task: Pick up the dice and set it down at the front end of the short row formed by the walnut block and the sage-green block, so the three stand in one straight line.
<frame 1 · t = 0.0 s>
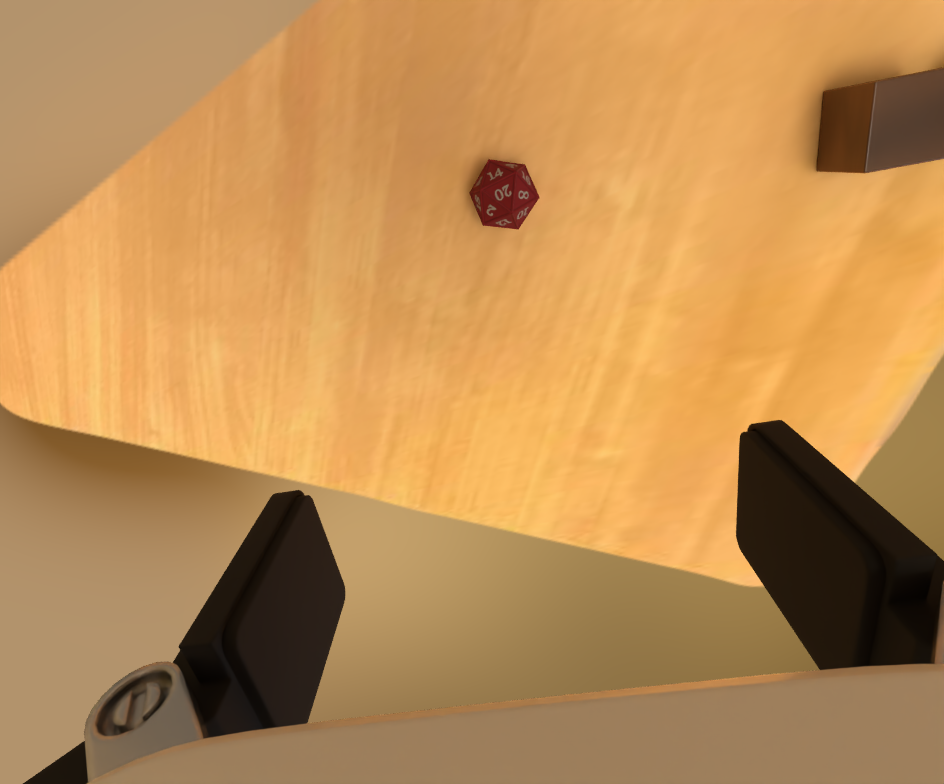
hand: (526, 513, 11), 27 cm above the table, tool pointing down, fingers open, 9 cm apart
walnut block: (857, 125, 32), on the table
dice: (502, 192, 34), on the table
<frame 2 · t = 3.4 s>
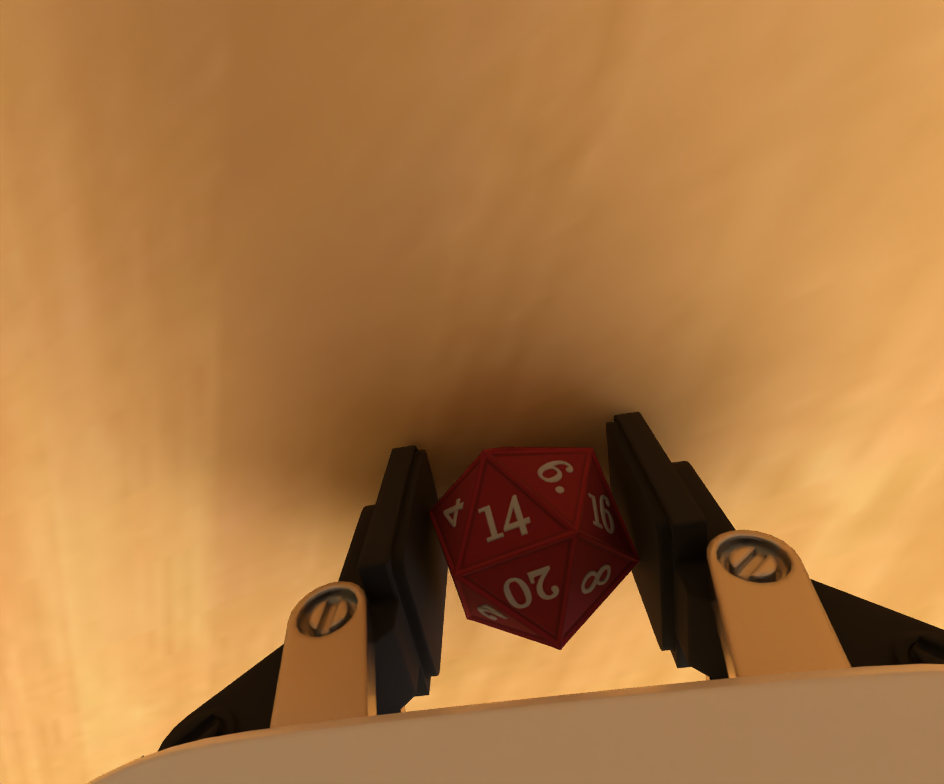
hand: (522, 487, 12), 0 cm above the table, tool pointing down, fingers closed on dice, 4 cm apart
dice: (521, 474, 13), on the table, touching gripper
when the fingers open (0 cm above the table, at t = 9.6 s): dice stays where it is, on the table.
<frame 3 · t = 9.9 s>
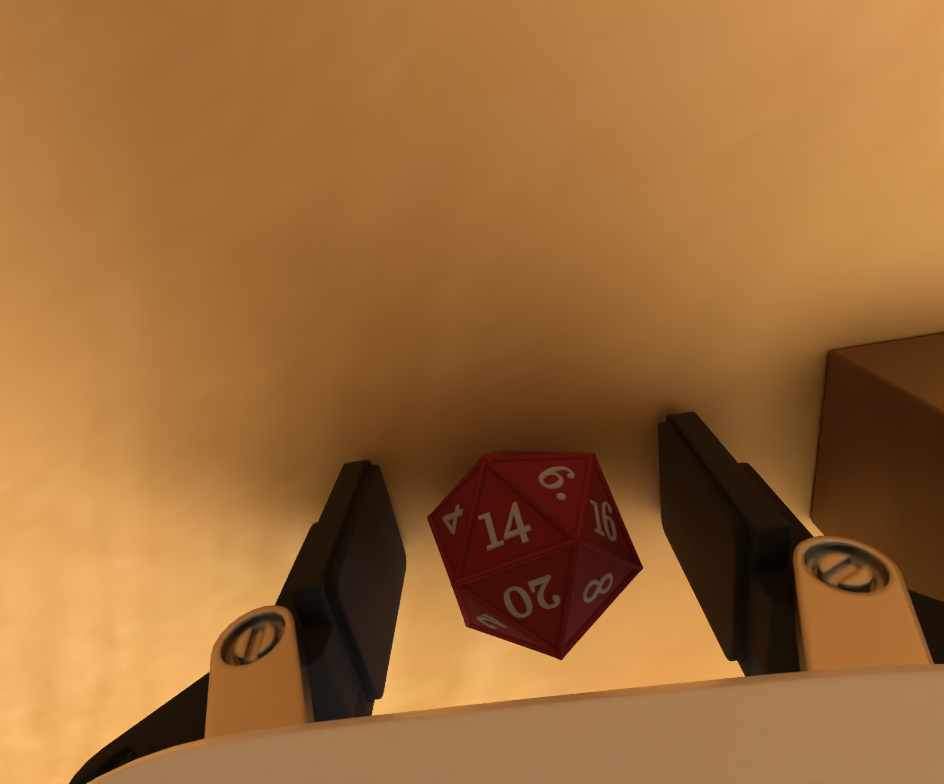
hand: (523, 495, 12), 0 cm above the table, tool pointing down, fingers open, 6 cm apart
walnut block: (922, 427, 12), on the table
dice: (521, 479, 12), on the table
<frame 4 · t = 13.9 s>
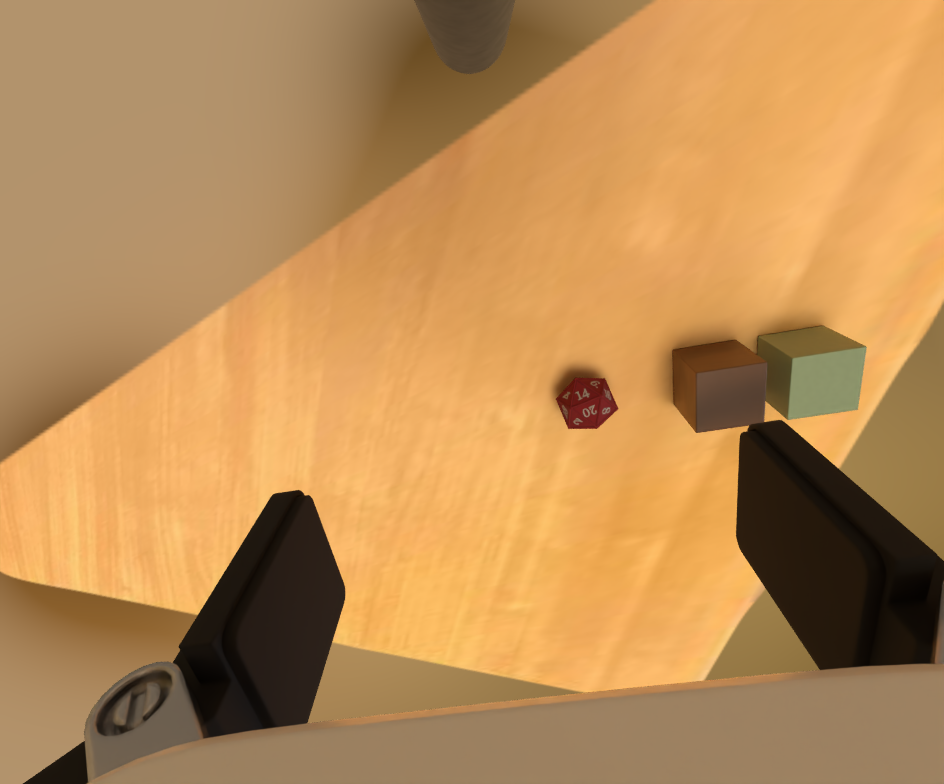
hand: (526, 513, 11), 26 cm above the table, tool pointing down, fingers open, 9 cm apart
walnut block: (703, 373, 38), on the table
sage block: (788, 359, 38), on the table
dice: (581, 391, 39), on the table
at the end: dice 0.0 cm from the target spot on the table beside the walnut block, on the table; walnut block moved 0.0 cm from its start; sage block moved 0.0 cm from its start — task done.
